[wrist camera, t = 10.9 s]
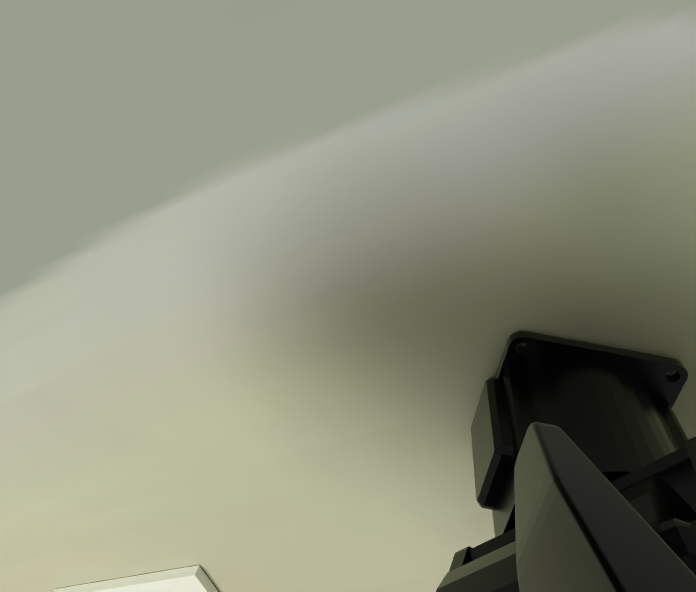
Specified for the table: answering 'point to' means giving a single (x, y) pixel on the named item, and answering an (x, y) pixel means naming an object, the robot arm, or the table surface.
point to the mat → (152, 582)
